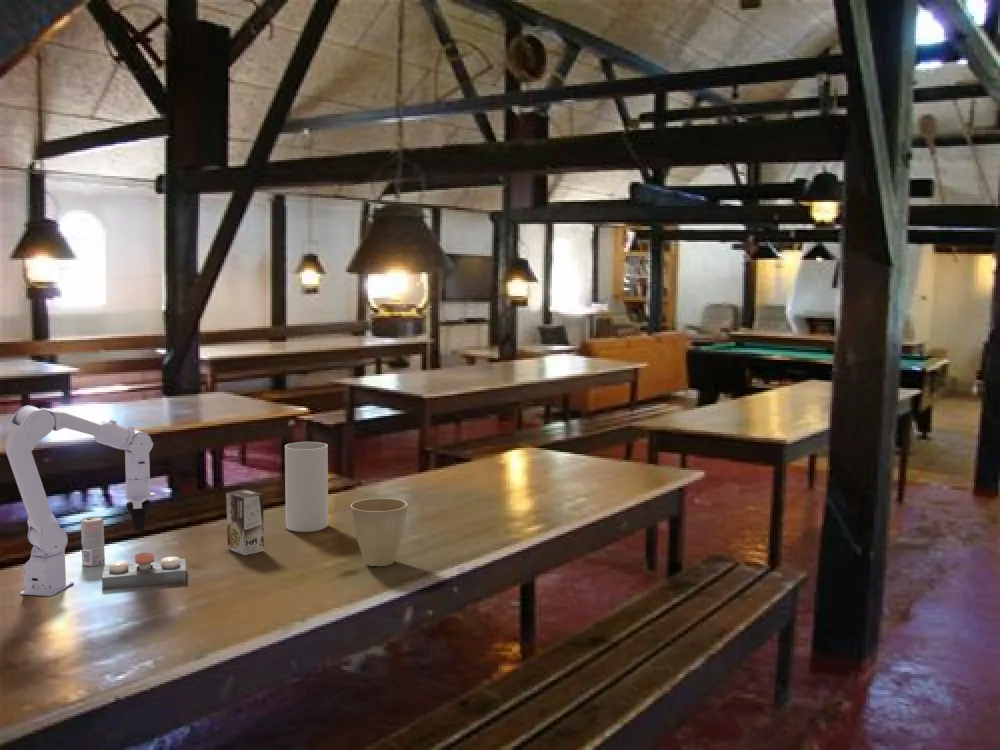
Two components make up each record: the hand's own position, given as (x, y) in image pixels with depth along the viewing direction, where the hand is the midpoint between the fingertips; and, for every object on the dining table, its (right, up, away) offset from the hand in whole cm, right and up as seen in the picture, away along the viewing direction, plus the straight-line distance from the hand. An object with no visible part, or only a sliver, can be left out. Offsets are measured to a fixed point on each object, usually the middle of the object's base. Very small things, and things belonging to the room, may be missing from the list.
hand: (139, 529), depth 235 cm
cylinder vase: (+34, -7, +42) cm, 55 cm away
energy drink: (-14, -10, +5) cm, 18 cm away
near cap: (-2, -11, -9) cm, 14 cm away
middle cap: (+4, -9, -7) cm, 12 cm away
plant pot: (+60, -11, +9) cm, 62 cm away
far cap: (+10, -11, -5) cm, 15 cm away
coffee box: (+22, -9, +19) cm, 30 cm away
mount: (+4, -11, -7) cm, 14 cm away
